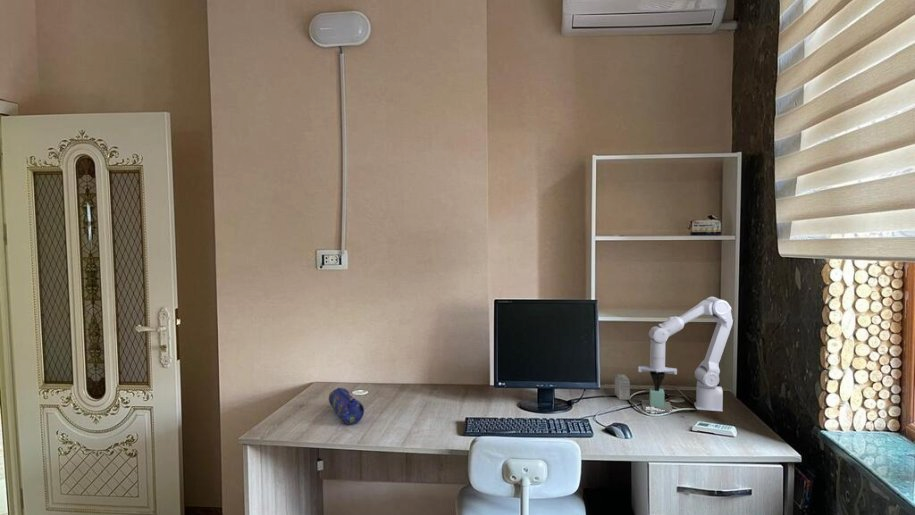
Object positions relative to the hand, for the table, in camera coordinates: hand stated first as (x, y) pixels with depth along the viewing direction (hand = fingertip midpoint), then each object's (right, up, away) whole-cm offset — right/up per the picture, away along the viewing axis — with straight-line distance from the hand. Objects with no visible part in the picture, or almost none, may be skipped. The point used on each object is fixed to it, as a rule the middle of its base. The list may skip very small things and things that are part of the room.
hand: (656, 390), depth 224 cm
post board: (0, -7, 0) cm, 7 cm away
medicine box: (-10, -6, +13) cm, 18 cm away
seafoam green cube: (0, -6, 0) cm, 6 cm away
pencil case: (-123, -8, -8) cm, 123 cm away
